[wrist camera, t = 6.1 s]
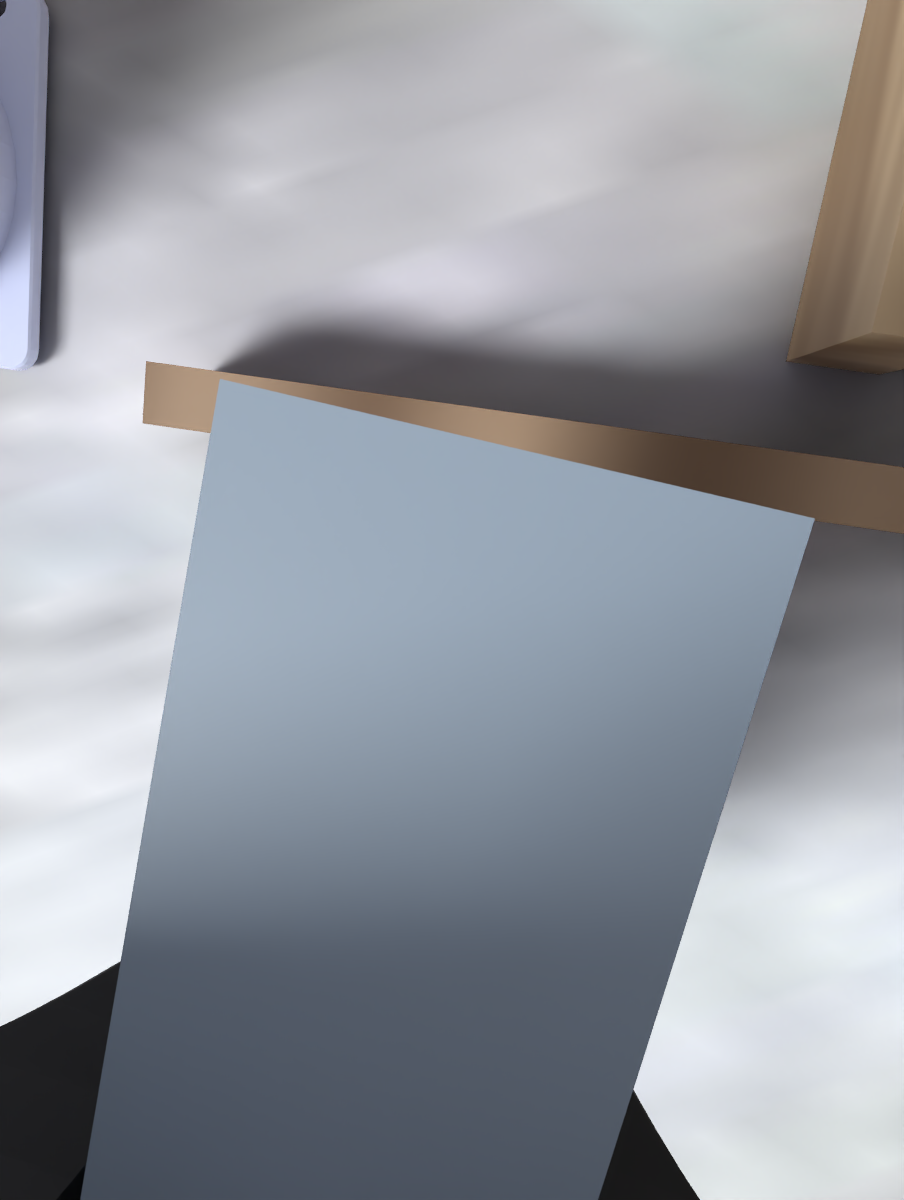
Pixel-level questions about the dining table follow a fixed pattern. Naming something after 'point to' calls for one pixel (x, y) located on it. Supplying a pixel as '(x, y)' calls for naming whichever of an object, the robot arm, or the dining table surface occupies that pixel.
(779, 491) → the rack
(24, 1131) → the robot arm
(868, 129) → the offcut
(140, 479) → the dining table surface
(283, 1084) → the blue grey rectangular slab
